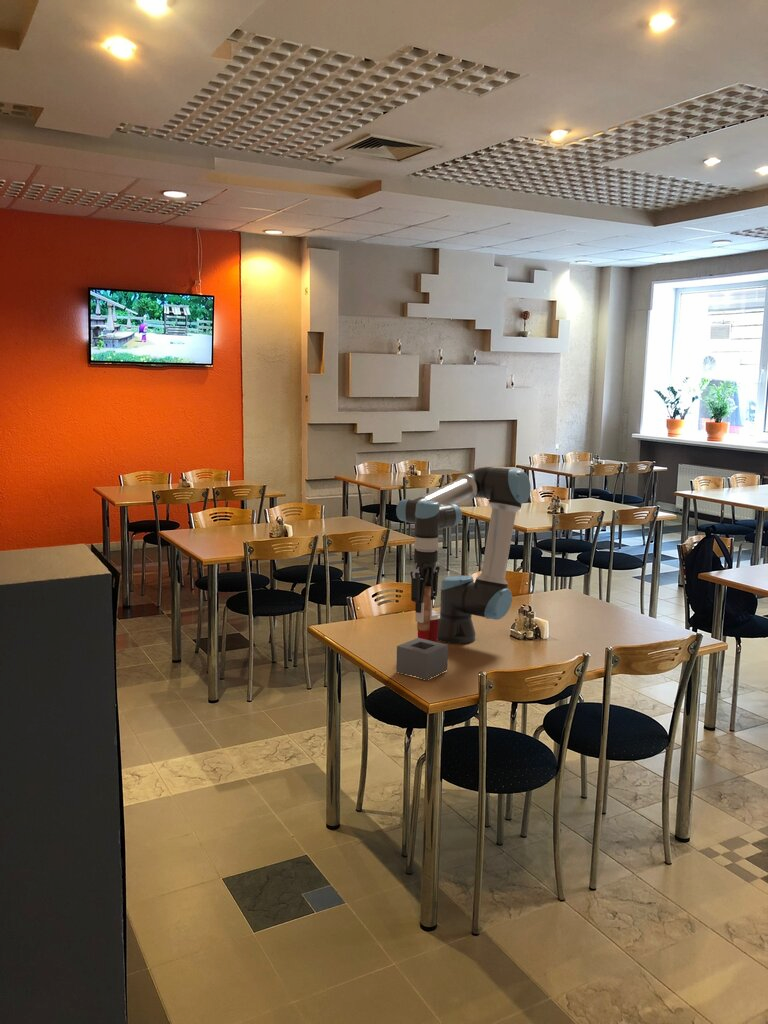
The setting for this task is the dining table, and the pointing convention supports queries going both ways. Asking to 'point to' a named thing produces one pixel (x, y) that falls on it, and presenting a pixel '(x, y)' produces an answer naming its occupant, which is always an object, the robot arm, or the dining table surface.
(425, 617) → the pin
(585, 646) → the dining table surface
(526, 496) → the robot arm
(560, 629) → the dining table surface
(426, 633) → the coffee cup
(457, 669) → the dining table surface
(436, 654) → the socket block
